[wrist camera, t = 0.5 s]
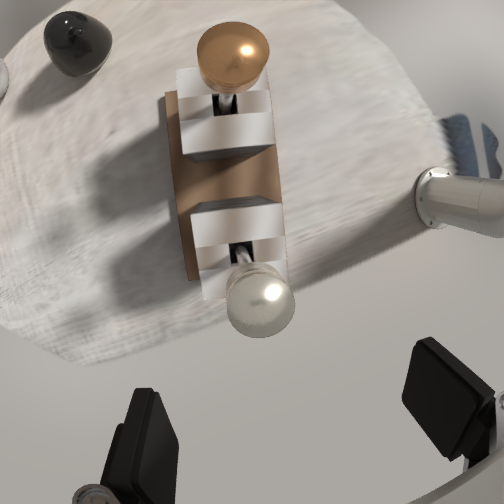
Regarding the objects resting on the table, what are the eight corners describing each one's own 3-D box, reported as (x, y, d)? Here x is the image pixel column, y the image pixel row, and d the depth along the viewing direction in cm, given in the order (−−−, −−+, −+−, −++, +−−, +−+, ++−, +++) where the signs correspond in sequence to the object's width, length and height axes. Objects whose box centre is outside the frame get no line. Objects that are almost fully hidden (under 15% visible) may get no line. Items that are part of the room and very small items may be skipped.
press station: (266, 84, 41) (294, 38, 25) (285, 264, 49) (320, 308, 32) (166, 94, 40) (141, 52, 23) (189, 277, 48) (177, 329, 31)
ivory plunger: (261, 207, 36) (316, 242, 16) (266, 262, 38) (319, 347, 18) (204, 214, 35) (191, 259, 16) (212, 269, 37) (212, 364, 18)
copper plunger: (248, 90, 32) (286, 3, 13) (254, 143, 34) (303, 101, 14) (191, 96, 32) (168, 10, 12) (196, 149, 33) (173, 112, 14)
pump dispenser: (96, 90, 38) (54, 62, 23) (57, 72, 35) (13, 46, 21) (130, 42, 36) (103, -1, 22) (90, 27, 34) (57, -11, 19)
